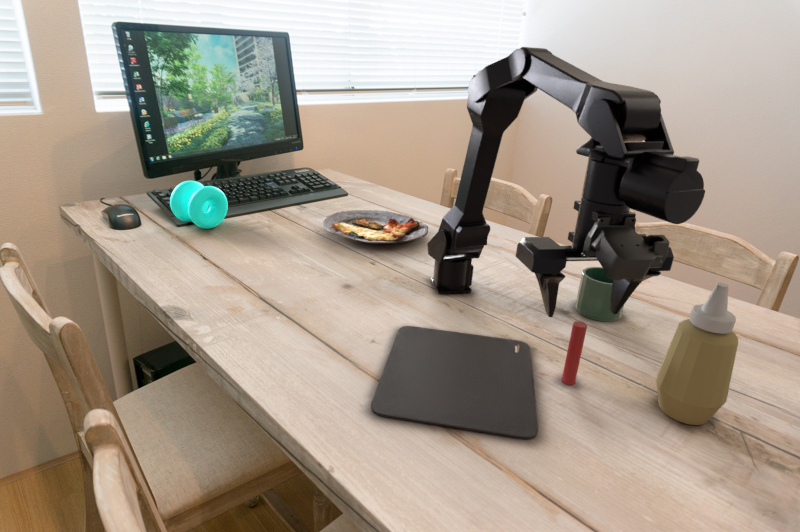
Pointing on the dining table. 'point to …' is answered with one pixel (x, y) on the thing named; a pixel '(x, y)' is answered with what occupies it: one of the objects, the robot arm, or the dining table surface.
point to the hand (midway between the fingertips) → (581, 314)
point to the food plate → (375, 226)
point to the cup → (595, 295)
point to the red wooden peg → (574, 352)
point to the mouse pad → (459, 382)
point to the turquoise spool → (199, 204)
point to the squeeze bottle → (699, 362)
